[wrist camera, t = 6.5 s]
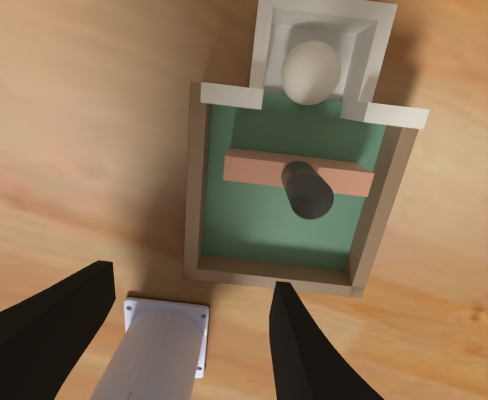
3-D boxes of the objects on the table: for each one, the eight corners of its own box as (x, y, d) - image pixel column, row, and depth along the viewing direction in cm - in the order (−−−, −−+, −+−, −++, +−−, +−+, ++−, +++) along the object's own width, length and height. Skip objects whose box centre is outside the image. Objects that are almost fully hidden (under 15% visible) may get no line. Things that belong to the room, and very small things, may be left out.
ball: (332, 63, 17) (326, 115, 18) (280, 57, 17) (274, 109, 17) (355, 30, 14) (347, 95, 14) (290, 22, 14) (282, 87, 14)
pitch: (347, 274, 23) (372, 318, 19) (191, 256, 23) (176, 296, 18) (422, 30, 17) (489, 2, 12) (204, 2, 16) (185, -37, 12)
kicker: (349, 186, 19) (400, 230, 13) (226, 171, 19) (213, 208, 12) (356, 159, 18) (415, 191, 12) (229, 143, 18) (217, 167, 12)
